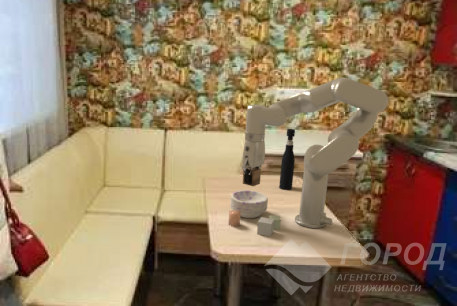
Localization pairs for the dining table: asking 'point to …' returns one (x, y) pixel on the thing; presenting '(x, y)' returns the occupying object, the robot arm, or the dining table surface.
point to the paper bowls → (249, 203)
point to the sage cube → (276, 221)
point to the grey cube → (265, 226)
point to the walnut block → (254, 176)
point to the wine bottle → (287, 163)
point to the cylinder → (234, 218)
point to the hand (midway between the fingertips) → (251, 181)
